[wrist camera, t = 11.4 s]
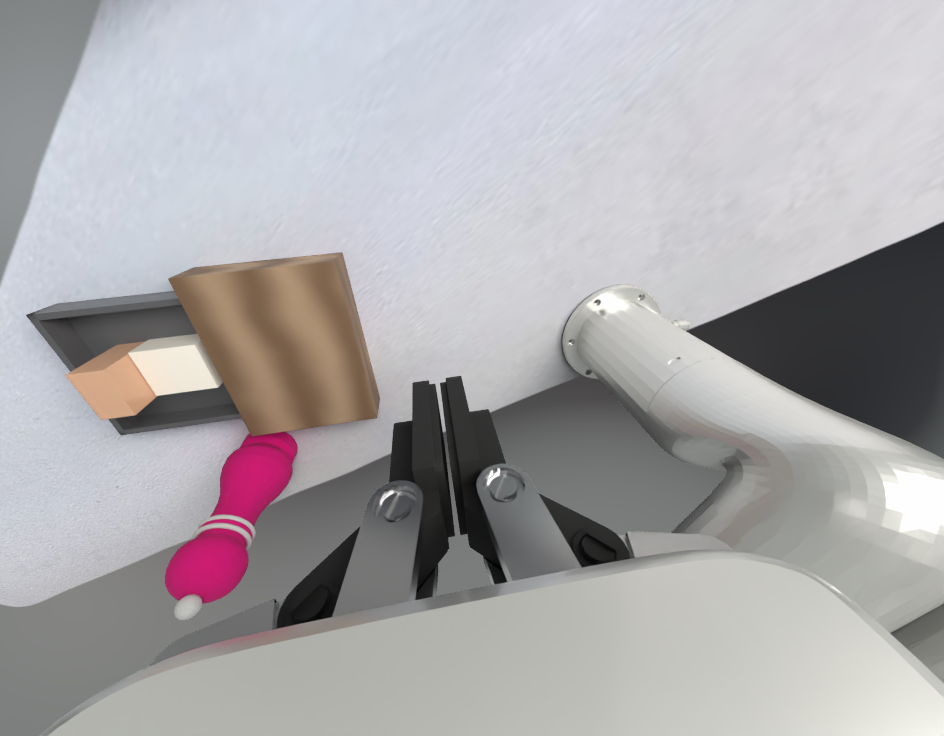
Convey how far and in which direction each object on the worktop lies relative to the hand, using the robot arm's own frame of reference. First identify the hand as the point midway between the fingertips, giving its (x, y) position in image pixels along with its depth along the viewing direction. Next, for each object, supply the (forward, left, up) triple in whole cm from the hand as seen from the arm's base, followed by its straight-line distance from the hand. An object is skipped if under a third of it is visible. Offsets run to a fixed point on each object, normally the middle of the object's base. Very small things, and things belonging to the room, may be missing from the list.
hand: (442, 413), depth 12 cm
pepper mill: (+23, +22, -27) cm, 42 cm away
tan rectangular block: (+29, +8, -24) cm, 38 cm away
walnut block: (+15, +8, -27) cm, 32 cm away
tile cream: (+26, +8, -26) cm, 38 cm away
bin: (+29, +8, -27) cm, 40 cm away
